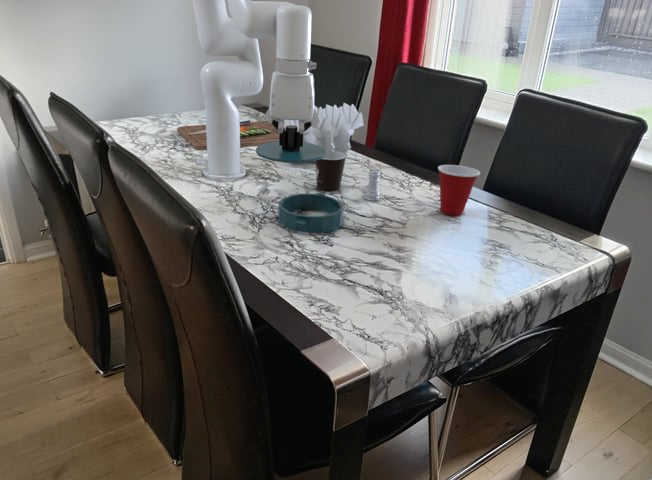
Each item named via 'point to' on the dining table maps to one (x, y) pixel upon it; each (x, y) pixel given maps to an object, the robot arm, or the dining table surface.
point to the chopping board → (248, 134)
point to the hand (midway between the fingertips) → (291, 148)
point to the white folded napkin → (332, 127)
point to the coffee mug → (330, 171)
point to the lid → (290, 149)
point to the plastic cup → (455, 187)
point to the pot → (310, 222)
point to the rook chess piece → (372, 186)
